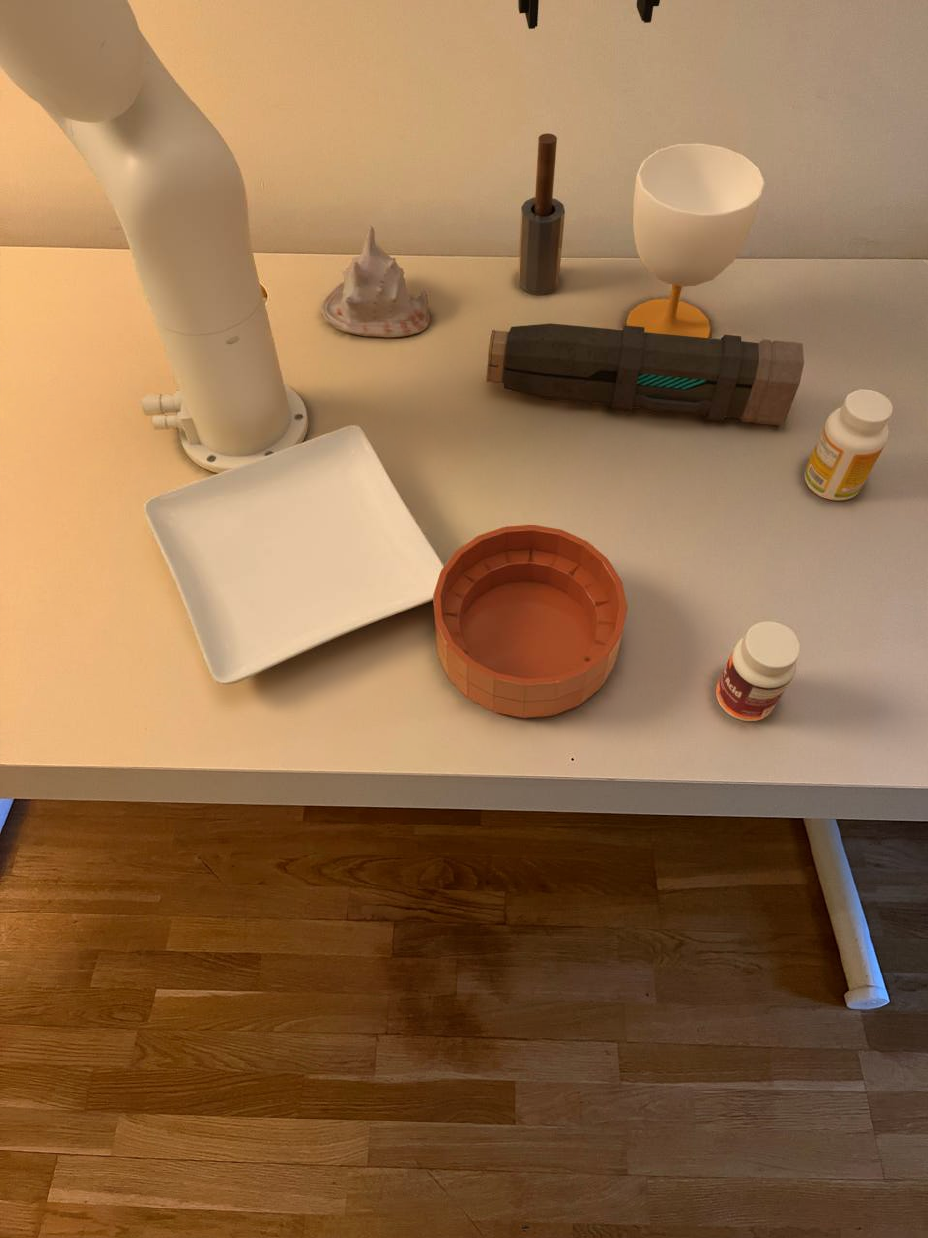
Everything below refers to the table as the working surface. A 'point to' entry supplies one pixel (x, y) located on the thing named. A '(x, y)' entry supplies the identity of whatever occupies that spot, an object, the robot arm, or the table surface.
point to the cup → (690, 226)
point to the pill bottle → (758, 671)
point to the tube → (649, 370)
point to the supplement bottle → (849, 445)
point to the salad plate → (291, 552)
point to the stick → (545, 174)
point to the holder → (540, 248)
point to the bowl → (528, 620)
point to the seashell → (375, 297)
